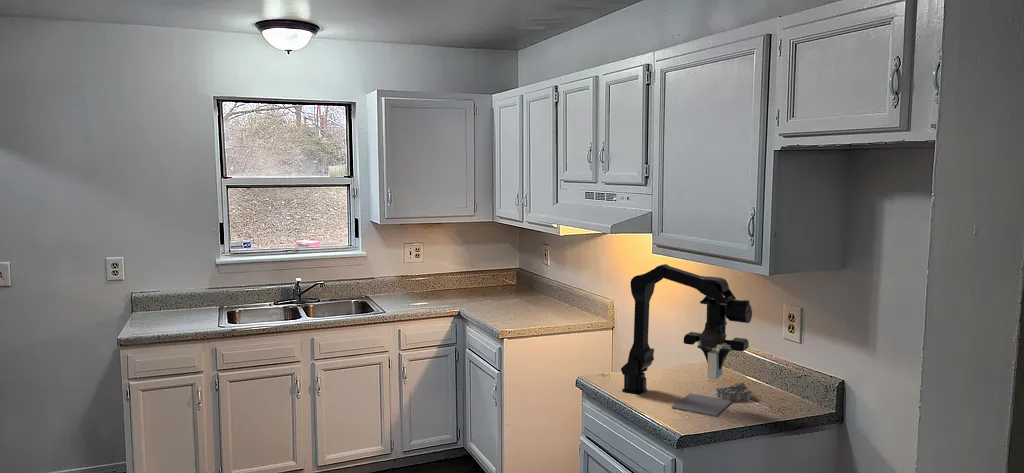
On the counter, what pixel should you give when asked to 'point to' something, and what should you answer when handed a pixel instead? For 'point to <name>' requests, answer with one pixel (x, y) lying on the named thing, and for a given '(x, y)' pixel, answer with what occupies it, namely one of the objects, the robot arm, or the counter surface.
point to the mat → (702, 404)
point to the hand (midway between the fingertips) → (715, 368)
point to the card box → (714, 364)
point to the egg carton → (734, 392)
